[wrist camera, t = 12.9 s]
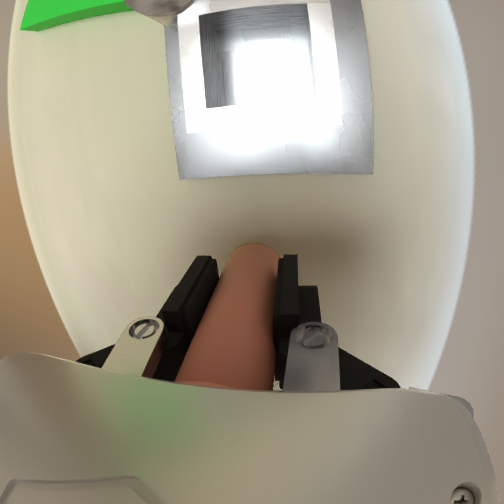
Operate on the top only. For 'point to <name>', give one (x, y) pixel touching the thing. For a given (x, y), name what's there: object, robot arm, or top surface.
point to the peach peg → (237, 326)
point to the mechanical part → (66, 11)
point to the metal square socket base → (267, 85)
